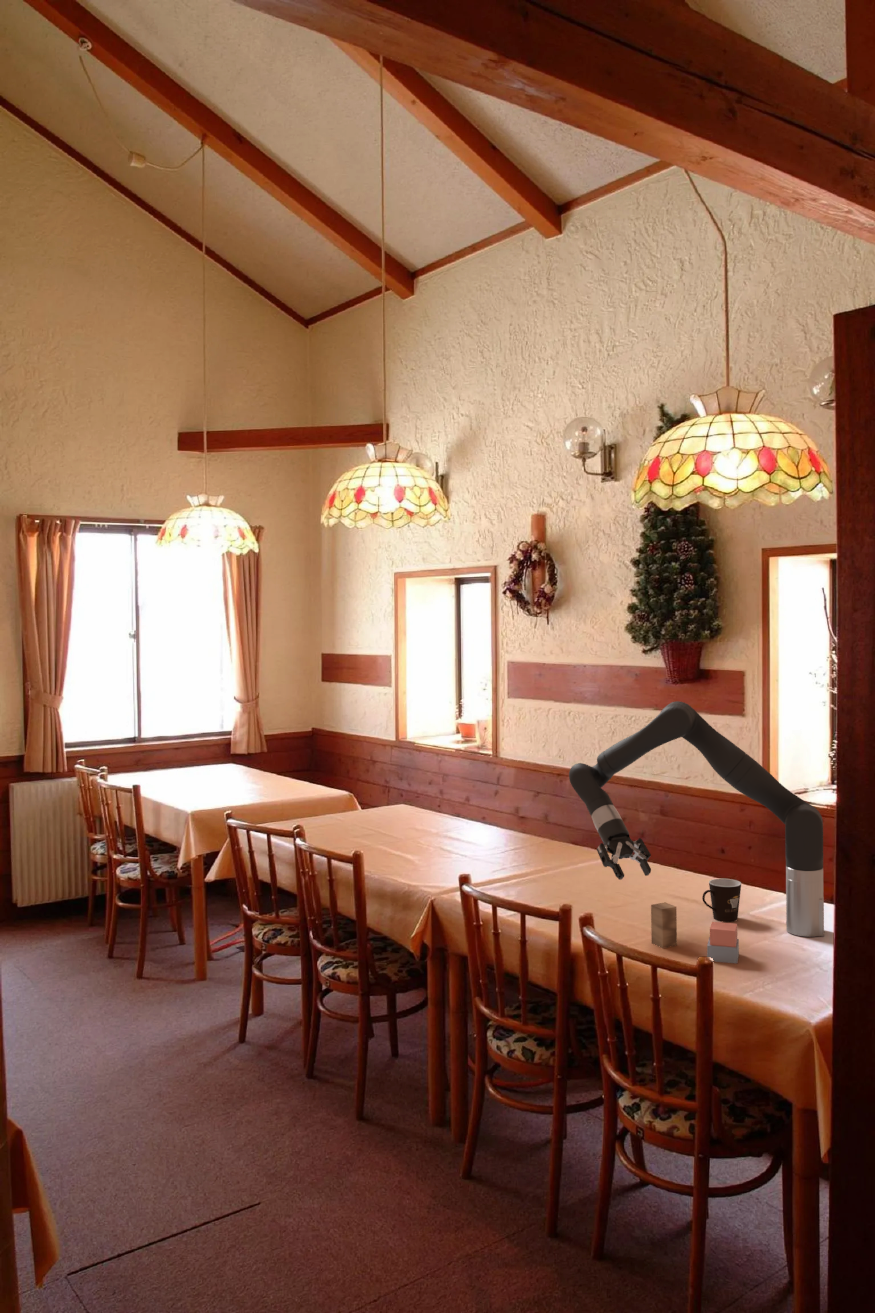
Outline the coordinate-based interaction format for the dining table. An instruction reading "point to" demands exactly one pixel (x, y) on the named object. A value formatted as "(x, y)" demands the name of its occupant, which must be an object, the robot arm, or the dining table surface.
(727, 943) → the tower brick
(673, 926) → the pillar brick
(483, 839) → the dining table surface
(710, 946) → the tower bottom brick
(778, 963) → the dining table surface
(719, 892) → the coffee mug
